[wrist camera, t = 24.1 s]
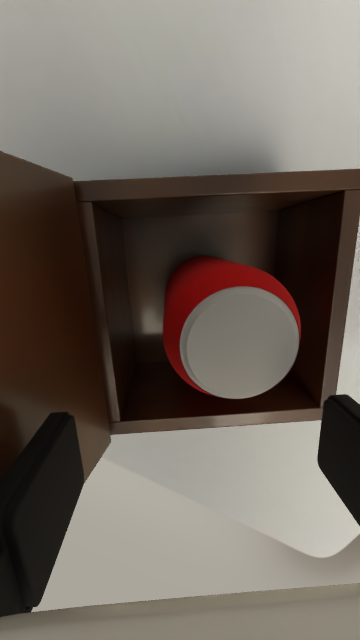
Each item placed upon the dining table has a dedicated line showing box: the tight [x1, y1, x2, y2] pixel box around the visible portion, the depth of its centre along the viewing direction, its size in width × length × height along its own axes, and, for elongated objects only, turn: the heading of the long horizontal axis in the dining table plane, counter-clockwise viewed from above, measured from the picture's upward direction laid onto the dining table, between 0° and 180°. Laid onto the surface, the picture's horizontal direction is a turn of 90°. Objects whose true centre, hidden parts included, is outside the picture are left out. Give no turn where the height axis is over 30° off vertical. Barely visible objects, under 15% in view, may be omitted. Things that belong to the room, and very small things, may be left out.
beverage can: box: [163, 256, 301, 400], centre depth 16 cm, size 6×6×12 cm
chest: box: [73, 169, 360, 435], centre depth 18 cm, size 14×14×9 cm
